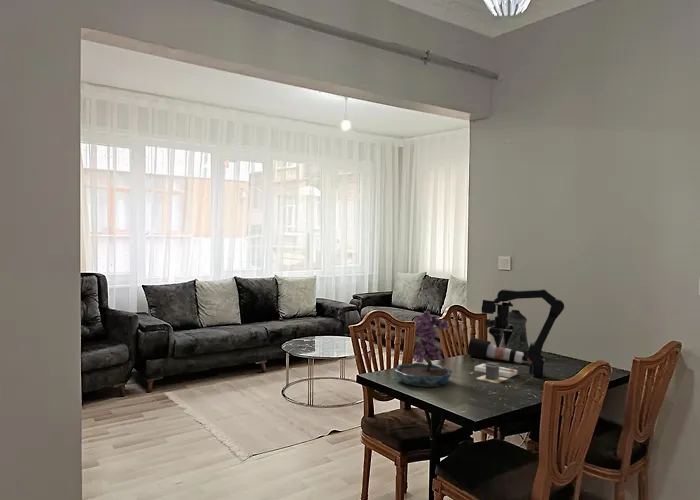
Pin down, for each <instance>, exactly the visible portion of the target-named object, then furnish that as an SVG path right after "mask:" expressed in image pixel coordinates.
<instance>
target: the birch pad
mask: <svg viewBox="0 0 700 500" xmlns="http://www.w3.org/2000/svg"><path fill="white" fill-rule="evenodd" d="M475 378H476V379H475V381H476V382H481V383H483V381H484V383H485V384H490V385H495V386H497V384H500V383H501V382H504V381H507V380H509V378H508V377H503V376H499V379H496V380H491V379H486V374H484V375H481V376H478V377H475Z"/></svg>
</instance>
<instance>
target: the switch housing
mask: <svg viewBox="0 0 700 500" xmlns="http://www.w3.org/2000/svg"><path fill="white" fill-rule="evenodd" d="M474 372H478V373H479V372H480V373H485V374H486V363H481V364H478V365H475V366H474ZM517 375H518V369H513V368H509V367H508V368H507V367H503V366H499V377H503V378H508V379H509V378H511V377H514V376H517Z"/></svg>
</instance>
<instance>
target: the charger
mask: <svg viewBox="0 0 700 500" xmlns="http://www.w3.org/2000/svg"><path fill="white" fill-rule="evenodd" d="M485 364H486V373H485V375H486V379H491V380H496V379H499V377H500V376H499V367H500V363H498V362H492V361H489V362H486V363H485Z"/></svg>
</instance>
